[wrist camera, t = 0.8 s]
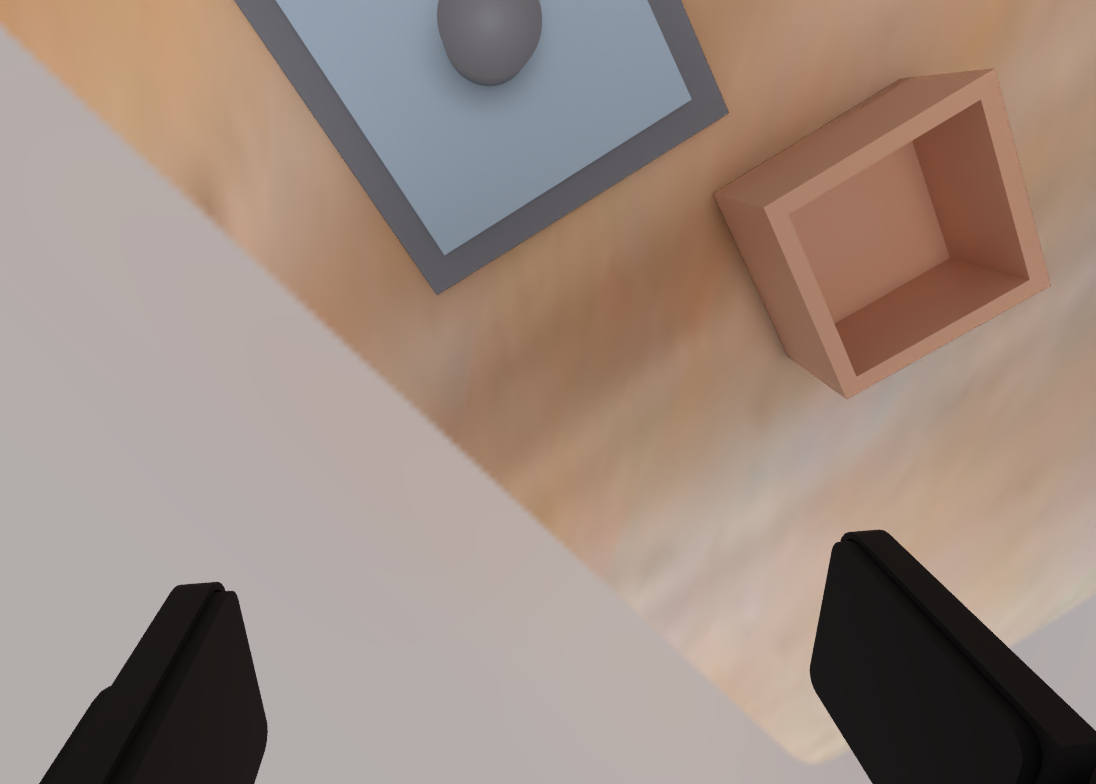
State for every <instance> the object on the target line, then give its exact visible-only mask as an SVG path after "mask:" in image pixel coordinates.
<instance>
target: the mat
mask: <svg viewBox="0 0 1096 784" xmlns="http://www.w3.org/2000/svg"><path fill="white" fill-rule="evenodd" d="M235 2H236V3H237V5H238V6H239V8H240V9H241V10H242V12H243V13H244V15H245V16H246V18H247V19H248V21H249V22H250V24H251V25H252V26H253V28H254V29H255V31H256V32H257V34H258V35H259V37H260V38H261V40H262V41H263V43H264V44H265V45H266V47H267V48H268V50H269V51H270V53H271V54H272V56H273V57H274V59H275V60H276V61H277V63H278V64H279V66H280V67H281V69H282V70H283V72H284V73H285V75H286V76H287V77H288V79H289V80H290V82H291V83H292V85H293V86H294V88H295V89H296V91H297V92H298V94H299V95H300V96H301V98H302V99H303V101H304V102H305V104H306V105H307V107H308V108H309V110H310V111H311V112H312V114H313V115H314V117H315V118H316V120H317V121H318V123H319V124H320V126H321V127H322V128H323V130H324V131H325V133H326V134H327V136H328V137H329V139H330V140H331V142H332V143H333V145H334V146H335V147H336V149H337V150H338V152H339V153H340V155H341V156H342V158H343V159H344V161H345V162H346V163H347V165H348V166H349V168H350V169H351V171H352V172H353V174H354V175H355V177H356V178H357V179H358V181H359V182H360V184H361V185H362V187H363V188H364V190H365V191H366V193H367V194H368V196H369V197H370V198H371V200H372V201H373V203H374V204H375V206H376V207H377V209H378V210H379V212H380V213H381V214H382V216H383V217H384V219H385V220H386V222H387V223H388V225H389V226H390V228H391V229H392V230H393V232H394V233H395V235H396V236H397V238H398V239H399V241H400V242H401V244H402V245H403V247H404V248H405V249H406V251H407V252H408V254H409V255H410V257H411V258H412V260H413V261H414V263H415V264H416V265H417V267H418V268H419V270H420V271H421V273H422V274H423V276H424V277H425V279H426V280H427V281H428V283H429V284H430V286H431V287H432V289H433V290H434V292H435V293H436V295H438V294H440V293H441V292H443V291H444V290H446V289H448V288H449V287H451V286H452V285H454V284H456V283H457V282H459V281H460V280H462V279H464V278H465V277H467V276H468V275H470V274H472V273H473V272H475V271H476V270H478V269H480V268H481V267H483V266H484V265H486V264H488V263H489V262H491V261H492V260H494V259H496V258H497V257H499V256H501V255H502V254H504V253H505V252H507V251H509V250H510V249H512V248H513V247H515V246H517V245H518V244H520V243H521V242H523V241H525V240H526V239H528V238H529V237H531V236H533V235H534V234H536V233H537V232H539V231H541V230H542V229H544V228H545V227H547V226H549V225H550V224H552V223H553V222H555V221H557V220H558V219H560V218H561V217H563V216H565V215H566V214H568V213H569V212H571V211H573V210H574V209H576V208H577V207H579V206H581V205H582V204H584V203H585V202H587V201H589V200H590V199H592V198H593V197H595V196H597V195H598V194H600V193H601V192H603V191H605V190H606V189H608V188H609V187H611V186H613V185H614V184H616V183H617V182H619V181H621V180H622V179H624V178H625V177H627V176H629V175H630V174H632V173H633V172H635V171H637V170H638V169H640V168H642V167H643V166H645V165H646V164H648V163H650V162H651V161H653V160H654V159H656V158H658V157H659V156H661V155H662V154H664V153H666V152H667V151H669V150H670V149H672V148H674V147H675V146H677V145H678V144H680V143H682V142H683V141H685V140H686V139H688V138H690V137H691V136H693V135H694V134H696V133H698V132H699V131H701V130H702V129H704V128H706V127H707V126H709V125H710V124H712V123H714V122H715V121H717V120H718V119H720V118H722V117H723V116H725V115H726V114H728V113H729V112H728V109H727V107H726V105H725V102H724V100H723V98H722V95H721V93H720V91H719V88H718V86H717V84H716V81H715V79H714V77H713V74H712V72H711V70H710V67H709V65H708V63H707V60H706V58H705V56H704V53H703V51H702V49H701V46H700V44H699V42H698V39H697V37H696V35H695V32H694V30H693V28H692V25H691V23H690V21H689V18H688V16H687V14H686V11H685V9H684V7H683V4H682V2H681V0H648V3H649V5H650V7H651V9H652V12H653V14H654V16H655V18H656V21H657V23H658V25H659V27H660V30H661V32H662V34H663V36H664V38H665V41H666V43H667V45H668V47H669V50H670V52H671V54H672V56H673V59H674V61H675V63H676V65H677V67H678V70H679V72H680V74H681V76H682V79H683V81H684V83H685V85H686V88H687V90H688V92H689V94H690V97H691V99H692V100H690V101H689V102H687V103H685V104H684V105H682V106H681V107H679V108H677V109H676V110H674V111H673V112H671V113H669V114H668V115H666V116H665V117H663V118H662V119H660V120H658V121H657V122H655V123H654V124H652V125H650V126H649V127H647V128H646V129H644V130H643V131H641V132H639V133H638V134H636V135H635V136H633V137H631V138H630V139H628V140H627V141H625V142H624V143H622V144H620V145H619V146H617V147H616V148H614V149H612V150H611V151H609V152H608V153H606V154H605V155H603V156H601V157H600V158H598V159H597V160H595V161H593V162H592V163H590V164H589V165H587V166H586V167H584V168H582V169H581V170H579V171H578V172H576V173H574V174H573V175H571V176H570V177H568V178H566V179H565V180H563V181H562V182H560V183H559V184H557V185H555V186H554V187H552V188H551V189H549V190H547V191H546V192H544V193H543V194H541V195H540V196H538V197H536V198H535V199H533V200H532V201H530V202H528V203H527V204H525V205H524V206H522V207H521V208H519V209H517V210H516V211H514V212H513V213H511V214H509V215H508V216H506V217H505V218H503V219H502V220H500V221H498V222H497V223H495V224H494V225H492V226H490V227H489V228H487V229H486V230H484V231H483V232H481V233H479V234H478V235H476V236H475V237H473V238H471V239H470V240H468V241H467V242H465V243H463V244H462V245H460V246H459V247H457V248H456V249H454V250H452V251H451V252H449V253H448V254H446V255H444V254H443V252H442V251H441V249H440V248H439V246H438V245H437V243H436V242H435V240H434V239H433V237H432V236H431V234H430V233H429V231H428V230H427V228H426V227H425V225H424V224H423V222H422V220H421V219H420V217H419V216H418V214H417V213H416V211H415V210H414V208H413V207H412V205H411V204H410V202H409V201H408V199H407V198H406V196H405V195H404V193H403V192H402V190H401V189H400V187H399V186H398V184H397V183H396V181H395V180H394V178H393V177H392V175H391V174H390V172H389V171H388V169H387V168H386V166H385V165H384V163H383V162H382V160H381V159H380V157H379V156H378V154H377V153H376V151H375V150H374V148H373V147H372V145H371V144H370V142H369V141H368V139H367V137H366V136H365V134H364V133H363V131H362V130H361V128H360V127H359V125H358V124H357V122H356V121H355V119H354V118H353V116H352V115H351V113H350V112H349V110H348V109H347V107H346V106H345V104H344V103H343V101H342V100H341V98H340V97H339V95H338V94H337V92H336V91H335V89H334V88H333V86H332V85H331V83H330V82H329V80H328V79H327V77H326V76H325V74H324V73H323V71H322V70H321V68H320V67H319V65H318V64H317V62H316V61H315V59H314V57H313V56H312V54H311V53H310V51H309V50H308V48H307V47H306V45H305V44H304V42H303V41H302V39H301V38H300V36H299V35H298V33H297V32H296V30H295V29H294V27H293V26H292V24H291V23H290V21H289V20H288V18H287V17H286V15H285V14H284V12H283V11H282V9H281V8H280V6H279V5H278V3H277V2H276V0H235Z"/></svg>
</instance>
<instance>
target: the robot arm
mask: <svg viewBox="0 0 1096 784" xmlns="http://www.w3.org/2000/svg"><path fill="white" fill-rule="evenodd" d="M810 677H811V681H812V685H813V687H814V690H815V691H816V693H817V695H818V697H819V698H820V700H821V701H822V703H823V705H824V706H825V708H826V709H827V711H828V713H829V714H830V716H831V717H832V719H833V721H834V722H835V724H836V726H837V727H838V729H839V730H840V732H841V734H842V735H843V737H844V738H845V740H846V742H847V743H848V745H849V746H850V748H851V750H852V751H853V753H854V754H855V756H856V757H857V759H858V761H859V762H860V764H861V766H862V767H863V769H864V771H865V772H866V774H867V775H868V777H869V779H870V780H871V782H872V783H873V784H1096V731H1095V730H1094V729H1093V728H1092V727H1091V726H1090V725H1089V724H1088V723H1087V722H1086V721H1085V720H1084V719H1083V718H1082V717H1080V716H1079V715H1078V714H1077V713H1076V712H1075V711H1074V710H1073V709H1072V708H1071V707H1070V706H1069V705H1068V704H1067V703H1066V702H1065V701H1064V700H1063V699H1062V698H1061V697H1059V696H1058V695H1057V694H1056V693H1055V692H1054V691H1053V690H1052V689H1051V688H1050V687H1049V686H1048V685H1047V684H1046V683H1045V682H1044V681H1043V680H1042V679H1041V678H1040V677H1039V676H1038V675H1036V674H1035V673H1034V672H1033V671H1032V670H1031V669H1030V668H1029V667H1028V666H1027V665H1026V664H1025V663H1024V662H1023V661H1022V660H1021V659H1020V658H1019V657H1018V656H1017V655H1015V654H1014V653H1013V652H1012V651H1011V650H1010V649H1009V648H1008V647H1007V646H1006V645H1005V644H1004V643H1003V642H1002V641H1001V640H1000V639H999V638H998V637H997V636H996V635H995V634H994V633H993V632H991V631H990V630H989V629H988V628H987V627H986V626H985V625H984V624H983V623H982V622H981V621H980V620H979V619H978V618H977V617H976V616H975V615H974V614H973V613H972V612H971V611H969V610H968V609H967V608H966V607H965V606H964V605H963V604H962V603H961V602H960V601H959V600H958V599H957V598H956V597H955V596H954V595H953V594H952V593H951V592H950V591H949V590H947V589H946V588H945V587H944V586H943V585H942V584H941V583H940V582H939V581H938V580H937V579H936V578H935V577H934V576H933V575H932V574H931V573H930V572H929V571H928V570H927V569H925V568H924V567H923V566H922V565H921V564H920V563H919V562H918V561H917V560H916V559H915V558H914V557H913V556H912V555H911V554H910V553H909V552H908V551H907V550H906V549H905V548H903V547H902V546H901V545H900V544H899V543H898V542H897V541H896V540H895V539H894V538H893V537H892V536H891V535H890V534H889V533H887V532H886V531H884V530H869V531H857V532H848V533H845V534H844V536H843V537H842V539H841V542H837V543H835V545H834V546H833V549H832V552H831V558H830V563H829V568H828V574H827V579H826V584H825V590H824V595H823V600H822V606H821V611H820V616H819V622H818V627H817V632H816V638H815V643H814V648H813V654H812V659H811V664H810ZM267 733H268V731H267V720H266V716H265V712H264V708H263V703H262V699H261V695H260V690H259V687H258V682H257V678H256V673H255V669H254V665H253V660H252V656H251V652H250V648H249V643H248V639H247V635H246V630H245V626H244V622H243V618H242V613H241V610H240V605H239V601H238V598H237V595H236V593H235V592H234V591H225V589H224V586H223V585H222V584H221V583H219V582H211V583H199V584H186V585H178V586H176V587H175V588H174V589H173V590H172V591H171V593H170V594H169V596H168V598H167V599H166V601H165V602H164V604H163V605H162V607H161V609H160V610H159V612H158V613H157V615H156V616H155V618H154V619H153V621H152V623H151V624H150V626H149V628H148V629H147V631H146V632H145V634H144V635H143V637H142V638H141V640H140V642H139V643H138V645H137V647H136V648H135V649H134V651H133V652H132V654H131V656H130V657H129V659H128V660H127V662H126V663H125V665H124V667H123V668H122V670H121V671H120V673H119V674H118V676H117V678H116V679H115V681H114V683H113V684H112V686H109V687H108V688H106V689H104V690H103V691H101V692H100V693H99V695H98V696H97V697H96V698H95V699H94V701H93V702H92V703H91V705H90V707H89V708H88V710H87V711H86V713H85V714H84V716H83V717H82V719H81V720H80V722H79V723H78V725H77V726H76V728H75V729H74V731H73V732H72V734H71V736H70V737H69V739H68V740H67V742H66V743H65V745H64V747H63V748H62V750H61V751H60V753H59V754H58V756H57V757H56V759H55V760H54V762H53V763H52V765H51V766H50V768H49V769H48V771H47V772H46V774H45V775H44V777H43V779H42V780H41V782H40V783H39V784H254V783H255V779H256V776H257V773H258V770H259V767H260V764H261V761H262V758H263V755H264V752H265V747H266V742H267Z"/></svg>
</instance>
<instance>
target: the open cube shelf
mask: <svg viewBox="0 0 1096 784" xmlns="http://www.w3.org/2000/svg"><path fill="white" fill-rule="evenodd" d="M713 195H714V197H715V199H716V201H717V203H718V205H719V208H720V210H721V212H722V214H723V216H724V218H725V221H726V223H727V225H728V227H729V229H730V231H731V234H732V236H733V238H734V240H735V242H736V244H737V247H738V249H739V251H740V253H741V255H742V257H743V260H744V262H745V264H746V266H747V268H748V270H749V273H750V275H751V277H752V279H753V281H754V283H755V286H756V288H757V290H758V292H759V294H760V296H761V299H762V301H763V303H764V305H765V307H766V309H767V312H768V314H769V316H770V318H771V320H772V322H773V325H774V327H775V329H776V331H777V333H778V335H779V338H780V340H781V342H782V344H783V346H784V349H785V351H786V353H787V355H788V357H789V358H791V359H792V360H793V361H795V362H796V363H797V364H799V365H800V366H802V367H803V368H804V369H806V370H807V371H808V372H810V373H811V374H813V375H814V376H815V377H817V378H818V379H819V380H821V381H822V382H824V383H825V384H826V385H828V386H829V387H830V388H832V389H833V390H834V391H836V392H837V393H839V394H840V395H841V396H843V397H844V398H845V399H848V398H850V397H852V396H853V395H855V394H857V393H859V392H861V391H862V390H864V389H866V388H868V387H870V386H871V385H873V384H875V383H877V382H879V381H880V380H882V379H884V378H886V377H888V376H889V375H891V374H893V373H895V372H897V371H898V370H900V369H902V368H904V367H905V366H907V365H909V364H911V363H913V362H914V361H916V360H918V359H920V358H922V357H923V356H925V355H927V354H929V353H931V352H932V351H934V350H936V349H938V348H940V347H941V346H943V345H945V344H947V343H949V342H950V341H952V340H954V339H956V338H958V337H959V336H961V335H963V334H965V333H966V332H968V331H970V330H972V329H974V328H975V327H977V326H979V325H981V324H983V323H984V322H986V321H988V320H990V319H992V318H993V317H995V316H997V315H999V314H1001V313H1002V312H1004V311H1006V310H1008V309H1010V308H1011V307H1013V306H1015V305H1017V304H1019V303H1020V302H1022V301H1024V300H1026V299H1027V298H1029V297H1031V296H1033V295H1035V294H1036V293H1038V292H1040V291H1042V290H1044V289H1045V288H1047V287H1049V286H1051V285H1050V281H1049V277H1048V273H1047V269H1046V265H1045V261H1044V257H1043V253H1042V250H1041V246H1040V242H1039V238H1038V234H1037V230H1036V226H1035V222H1034V218H1033V215H1032V211H1031V207H1030V203H1029V199H1028V195H1027V191H1026V187H1025V183H1024V180H1023V176H1022V172H1021V168H1020V164H1019V160H1018V156H1017V152H1016V148H1015V145H1014V141H1013V137H1012V133H1011V129H1010V125H1009V121H1008V117H1007V114H1006V110H1005V106H1004V102H1003V98H1002V94H1001V90H1000V86H999V82H998V79H997V75H996V71H995V68H993V69H984V70H975V71H967V72H958V73H949V74H940V75H931V76H922V77H913V78H904V79H900V80H898V81H896V82H895V83H893V84H891V85H890V86H888V87H887V88H885V89H883V90H882V91H880V92H878V93H877V94H875V95H873V96H872V97H870V98H869V99H867V100H865V101H864V102H862V103H860V104H859V105H857V106H855V107H854V108H852V109H851V110H849V111H847V112H846V113H844V114H842V115H841V116H839V117H837V118H836V119H834V120H832V121H831V122H829V123H828V124H826V125H824V126H823V127H821V128H819V129H818V130H816V131H814V132H813V133H811V134H810V135H808V136H806V137H805V138H803V139H801V140H800V141H798V142H796V143H795V144H793V145H792V146H790V147H788V148H787V149H785V150H783V151H782V152H780V153H778V154H777V155H775V156H774V157H772V158H770V159H769V160H767V161H765V162H764V163H762V164H760V165H759V166H757V167H756V168H754V169H752V170H751V171H749V172H747V173H746V174H744V175H742V176H741V177H739V178H738V179H736V180H734V181H733V182H731V183H729V184H728V185H726V186H724V187H723V188H721V189H719V190H718V191H716V192H715V193H713Z"/></svg>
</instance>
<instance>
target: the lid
mask: <svg viewBox="0 0 1096 784" xmlns="http://www.w3.org/2000/svg"><path fill="white" fill-rule="evenodd" d="M276 2H277V3H278V5H279V6H280V8H281V9H282V11H283V12H284V14H285V15H286V17H287V18H288V20H289V21H290V23H291V24H292V26H293V27H294V29H295V30H296V32H297V33H298V35H299V36H300V38H301V39H302V41H303V42H304V44H305V45H306V47H307V48H308V50H309V51H310V53H311V54H312V56H313V57H314V59H315V61H316V62H317V64H318V65H319V67H320V68H321V70H322V71H323V73H324V74H325V76H326V77H327V79H328V80H329V82H330V83H331V85H332V86H333V88H334V89H335V91H336V92H337V94H338V95H339V97H340V98H341V100H342V101H343V103H344V104H345V106H346V107H347V109H348V110H349V112H350V113H351V115H352V116H353V118H354V119H355V121H356V122H357V124H358V125H359V127H360V128H361V130H362V131H363V133H364V134H365V136H366V137H367V139H368V141H369V142H370V144H371V145H372V147H373V148H374V150H375V151H376V153H377V154H378V156H379V157H380V159H381V160H382V162H383V163H384V165H385V166H386V168H387V169H388V171H389V172H390V174H391V175H392V177H393V178H394V180H395V181H396V183H397V184H398V186H399V187H400V189H401V190H402V192H403V193H404V195H405V196H406V198H407V199H408V201H409V202H410V204H411V205H412V207H413V208H414V210H415V211H416V213H417V214H418V216H419V217H420V219H421V220H422V222H423V224H424V225H425V227H426V228H427V230H428V231H429V233H430V234H431V236H432V237H433V239H434V240H435V242H436V243H437V245H438V246H439V248H440V249H441V251H442V252H443V254H444V255H446V254H448V253H449V252H451V251H452V250H454V249H456V248H457V247H459V246H460V245H462V244H463V243H465V242H467V241H468V240H470V239H471V238H473V237H475V236H476V235H478V234H479V233H481V232H483V231H484V230H486V229H487V228H489V227H490V226H492V225H494V224H495V223H497V222H498V221H500V220H502V219H503V218H505V217H506V216H508V215H509V214H511V213H513V212H514V211H516V210H517V209H519V208H521V207H522V206H524V205H525V204H527V203H528V202H530V201H532V200H533V199H535V198H536V197H538V196H540V195H541V194H543V193H544V192H546V191H547V190H549V189H551V188H552V187H554V186H555V185H557V184H559V183H560V182H562V181H563V180H565V179H566V178H568V177H570V176H571V175H573V174H574V173H576V172H578V171H579V170H581V169H582V168H584V167H586V166H587V165H589V164H590V163H592V162H593V161H595V160H597V159H598V158H600V157H601V156H603V155H605V154H606V153H608V152H609V151H611V150H612V149H614V148H616V147H617V146H619V145H620V144H622V143H624V142H625V141H627V140H628V139H630V138H631V137H633V136H635V135H636V134H638V133H639V132H641V131H643V130H644V129H646V128H647V127H649V126H650V125H652V124H654V123H655V122H657V121H658V120H660V119H662V118H663V117H665V116H666V115H668V114H669V113H671V112H673V111H674V110H676V109H677V108H679V107H681V106H682V105H684V104H685V103H687V102H689V101H690V100H692V99H691V97H690V94H689V92H688V90H687V88H686V85H685V83H684V81H683V79H682V76H681V74H680V72H679V70H678V67H677V65H676V63H675V61H674V59H673V56H672V54H671V52H670V50H669V47H668V45H667V43H666V41H665V38H664V36H663V34H662V32H661V30H660V27H659V25H658V23H657V21H656V18H655V16H654V14H653V12H652V9H651V7H650V5H649V3H648V0H276Z"/></svg>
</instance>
